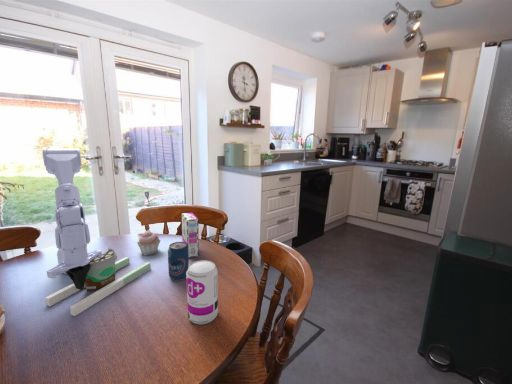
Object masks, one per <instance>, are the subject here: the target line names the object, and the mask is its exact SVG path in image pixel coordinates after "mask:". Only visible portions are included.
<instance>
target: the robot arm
mask: <svg viewBox="0 0 512 384" xmlns="http://www.w3.org/2000/svg"><path fill="white" fill-rule="evenodd" d="M42 159H43V165H44V166H45V167H44V168H45V170H46V172H47V173H48V174H50V175H53V176H55V178H56V179H57V181H58V182H57V183H58V186H57V187H56V188H55V189H54V194H55V205H56V206H55V207H56V209H54V216H55V223H56V226H55V229H54V238H55V245H56V248H57V249H58V250H57V252H56V258H57V265H56V266H54V267H52V268H50V269H48V270H46V275H47V277H46V278H48V279H51V280H53V279H55V278H57V277H58V276H60V275H62V274H65V275H67V276H68V277H69V278H70V280H71V281H72V284H73V283H74V285H75V287H76V289H79V291H81V290H83V289H85V288H84V284H85V279H86V276H87V273H88V271H89V269H90V268H91V266H90V264H88V263H89V261H91V260H93V259H95V258H97V257H98V258H100V257H102V254H103V253H102V250H99V249H96V250H93V251H90V252H88V248H87V247H88V245H89V244H90V243H91V234H90V229H89V224H88V223H87V222H86V214H85V209H84V206H83V204H82V201H81V196H80V189H79V187H78V186H76V185H74V176H75V174H77V173H80V172H81V169H82V158H81V151H80V149H79V148H46V147H45V148H42Z"/></svg>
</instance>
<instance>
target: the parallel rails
mask: <svg viewBox="0 0 512 384" xmlns="http://www.w3.org/2000/svg"><path fill="white" fill-rule="evenodd" d="M129 264H130V257H128V256H125V257H123V258H121V259H119V260H116V261H115V272H116V271H119V270H120V269H122V268H123V267H126V266H127V265H129ZM151 269H152V268H151V262H148V261H147V262H144V263H143V264H142V265H139V266H137V267H136V268H135V269H134V268H133V270H131V271H129V272H127V273H125V274H124V275H122V276H120V277H119V278H117V279H115V281H113V282H112V283H110V284H108V285H107V286H105V287H103V288H101V289H100V290H97V291H93V292H92V293H91V294H90V295H87V296H85V297H84V298H82V299H81V300H79V301H77V302H75V303H74V304H72V305H70V306H69V311H70V315H71V316H73V317H76V316H78V315H79V314H80V313H82V312H84V311H85V310H87V309H88V308H89V309H90V307H92V306H94V305H95V304H96V303H98V302H100V301H102V300H103V299H104V298H105V299H106V297H108V296H110V295H111V294H112V293H114V292H117V291H118V290H119V289H121V288H123V287H124V286H125V285H127V284H129V283H130V282H132V281H134V280H135V279H137V278H138V277H140V276H142V275H143V274H146V273H147V272H149V270H151ZM83 289H86V285H85V284H84V288H83ZM79 291H80V290H79V289H76V287H75V285H74V283H73V282H72V283H71V284H69V285H67V286H65V287H63V288H61V289H59V290H57V291H55V292H53V293H51V294H49V295H47V296H45V297H44V298H45V299H44V300H45V304H46V306H48V307H51V306H53V305H55V304H57V303H59V302H61V301H62V300H64V299H66V298H69V297H70V296H71V295H74V294H76V293H77V292H79Z"/></svg>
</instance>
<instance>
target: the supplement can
mask: <svg viewBox="0 0 512 384" xmlns="http://www.w3.org/2000/svg"><path fill="white" fill-rule="evenodd" d="M218 272H219V271H218V269H217V266H216V264H215V263H214V262H213V261H211V260H197V261H193V262H192V263H189V268H188V270H187V272H186V278H185V279H186V299H187V301H186V302H187V318H188V320H189V321H190V322H192V323H193V324H195V325H206V324H209V323H211V322H212V321H214V320H215V319H216V317H217V316H218V313H219V303H218V302H219V291H218V288H219V287H218V286H219V285H218V284H219V283H218V282H219V281H218V280H219V279H218Z"/></svg>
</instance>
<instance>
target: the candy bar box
mask: <svg viewBox="0 0 512 384" xmlns="http://www.w3.org/2000/svg"><path fill="white" fill-rule="evenodd" d="M181 239H182V241H181V242H184V243H186V246H187V247H188V254H189V259H190V258H191V259H192V258H197V257H199V256H200V255H199V253H200V252H199V248H200V247H199V246H200V245H199V243H200V242H199V218H198V217H197V216H196V215H195V214H194V213H193V212H183V213H181Z"/></svg>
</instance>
